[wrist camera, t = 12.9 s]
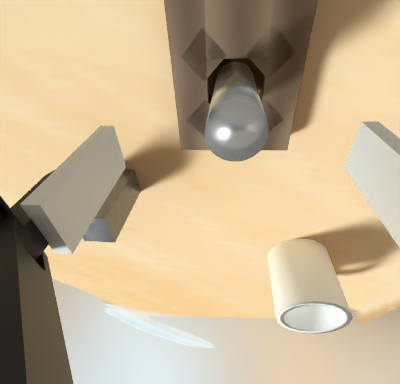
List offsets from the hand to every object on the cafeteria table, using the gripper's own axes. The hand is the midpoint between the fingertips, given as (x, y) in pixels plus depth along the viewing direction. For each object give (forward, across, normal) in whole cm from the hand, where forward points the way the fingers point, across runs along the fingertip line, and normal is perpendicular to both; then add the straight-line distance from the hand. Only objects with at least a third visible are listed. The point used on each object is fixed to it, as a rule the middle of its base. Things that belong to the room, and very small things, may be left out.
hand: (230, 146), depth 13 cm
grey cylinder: (+15, +1, 0) cm, 15 cm away
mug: (+15, +14, -31) cm, 37 cm away
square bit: (+15, -15, -14) cm, 26 cm away
